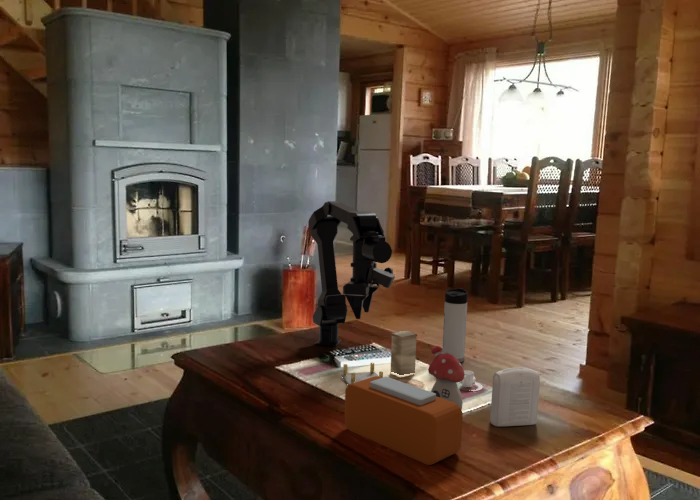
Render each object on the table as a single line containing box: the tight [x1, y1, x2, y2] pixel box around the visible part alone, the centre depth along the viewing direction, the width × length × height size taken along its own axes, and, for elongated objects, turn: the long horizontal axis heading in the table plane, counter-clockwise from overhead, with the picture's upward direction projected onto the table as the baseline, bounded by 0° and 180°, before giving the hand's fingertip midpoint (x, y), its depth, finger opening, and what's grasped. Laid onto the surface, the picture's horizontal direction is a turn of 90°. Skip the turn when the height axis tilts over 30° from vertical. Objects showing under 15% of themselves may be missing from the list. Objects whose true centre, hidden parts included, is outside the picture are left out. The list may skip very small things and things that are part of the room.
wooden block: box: [390, 329, 418, 375], centre depth 173 cm, size 4×5×11 cm
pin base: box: [340, 362, 384, 386], centre depth 167 cm, size 9×9×3 cm
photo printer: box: [489, 366, 541, 427], centre depth 143 cm, size 10×4×12 cm, turn 103°
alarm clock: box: [344, 375, 463, 466], centre depth 132 cm, size 24×8×11 cm, turn 45°
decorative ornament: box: [428, 345, 465, 410], centre depth 146 cm, size 9×6×15 cm
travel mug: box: [441, 287, 468, 363], centre depth 187 cm, size 6×7×20 cm
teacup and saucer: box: [460, 369, 483, 392], centre depth 166 cm, size 9×8×4 cm
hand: (362, 315), depth 181 cm, fingers open, 9 cm apart
